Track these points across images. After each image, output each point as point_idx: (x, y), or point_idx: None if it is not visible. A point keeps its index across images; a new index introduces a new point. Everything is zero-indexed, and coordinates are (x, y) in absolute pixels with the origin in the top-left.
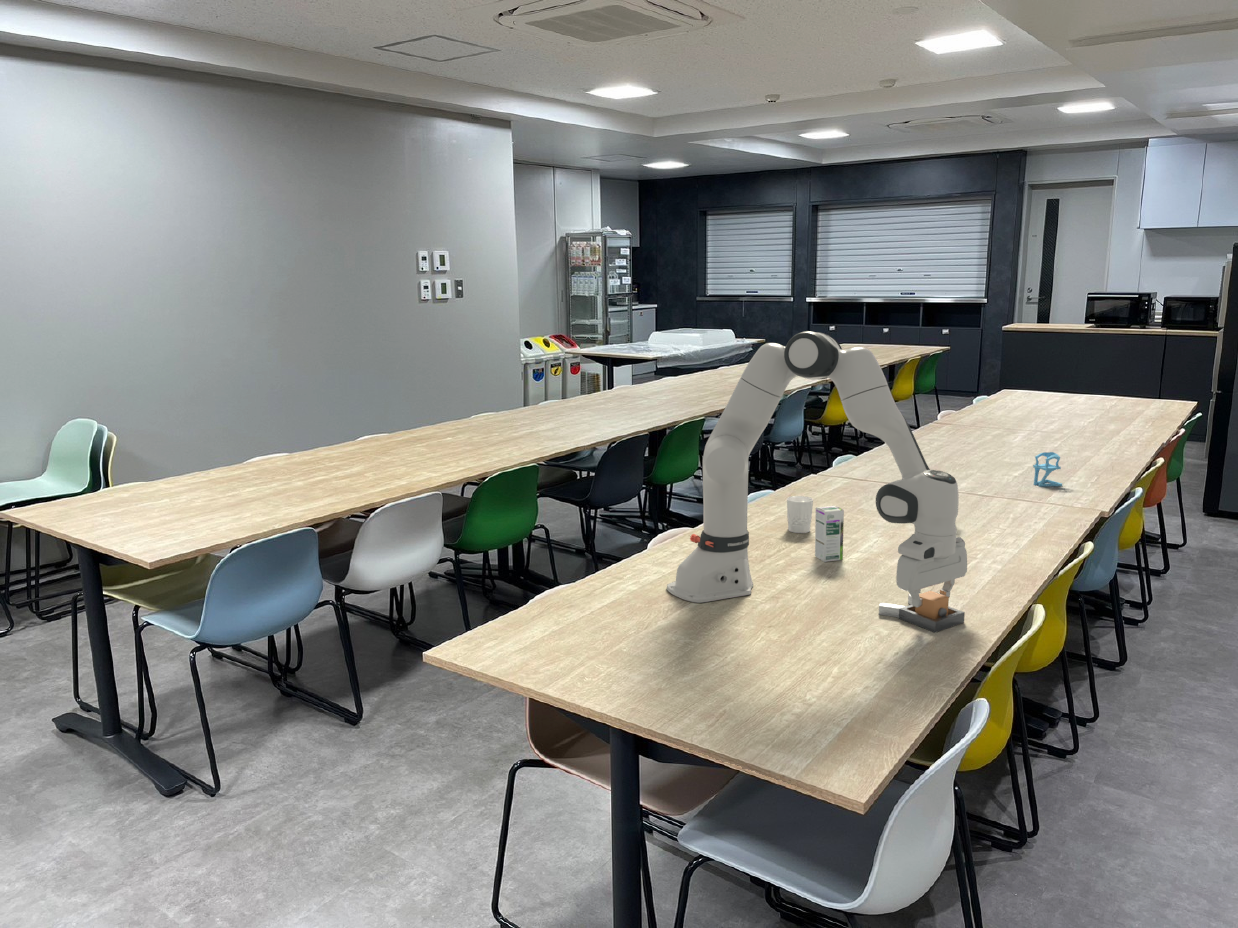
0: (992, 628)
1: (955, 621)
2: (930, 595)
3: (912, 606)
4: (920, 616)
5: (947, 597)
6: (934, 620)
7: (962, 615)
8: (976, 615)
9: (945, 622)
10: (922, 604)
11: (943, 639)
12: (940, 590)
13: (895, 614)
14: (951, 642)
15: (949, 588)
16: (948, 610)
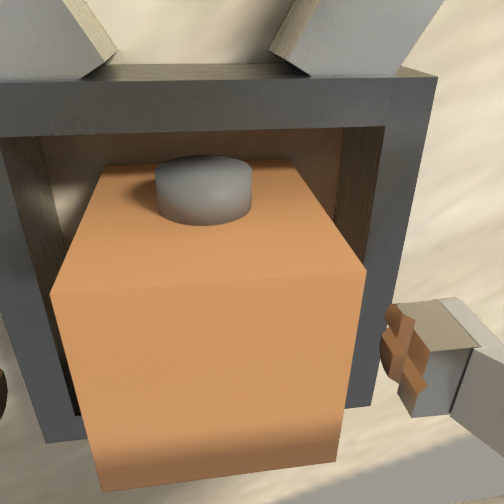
0: (378, 444)
1: None
2: (217, 374)
3: (122, 131)
4: (9, 336)
5: (313, 463)
6: (59, 425)
7: None
8: (500, 314)
9: None
10: (2, 411)
11: (40, 449)
12: (423, 357)
13: None
14: (52, 481)
15: (480, 436)
16: None
